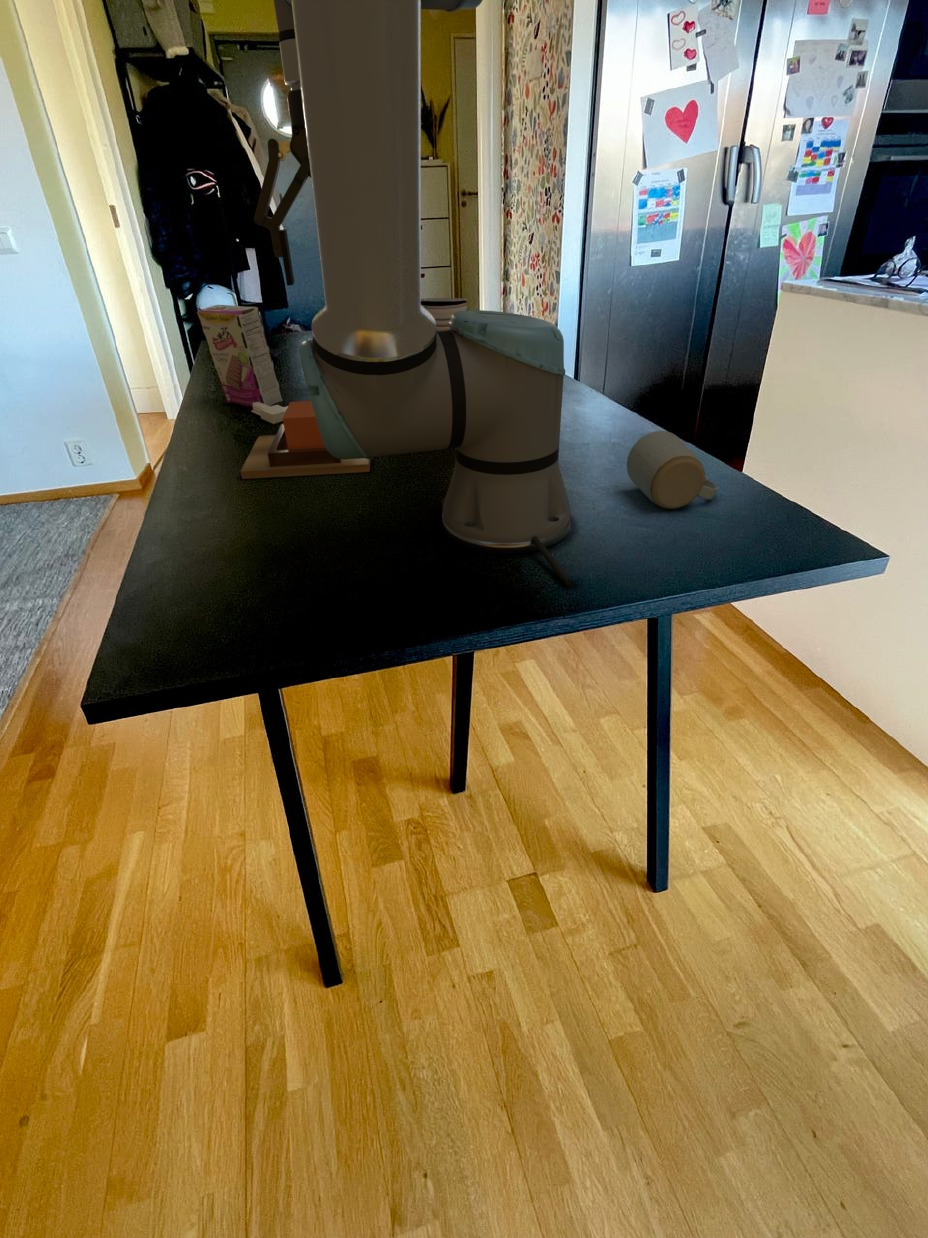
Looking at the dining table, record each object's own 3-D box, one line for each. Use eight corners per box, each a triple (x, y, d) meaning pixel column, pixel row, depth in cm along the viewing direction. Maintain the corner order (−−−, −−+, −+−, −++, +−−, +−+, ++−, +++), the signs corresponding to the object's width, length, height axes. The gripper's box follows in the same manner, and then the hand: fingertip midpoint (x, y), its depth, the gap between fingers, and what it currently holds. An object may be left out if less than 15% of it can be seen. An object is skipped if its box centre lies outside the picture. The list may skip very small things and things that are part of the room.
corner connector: (284, 402, 123) (283, 393, 123) (310, 413, 119) (310, 404, 118) (246, 411, 118) (245, 402, 118) (273, 423, 114) (272, 414, 113)
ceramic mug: (647, 515, 80) (657, 454, 76) (622, 489, 87) (629, 431, 83) (728, 508, 82) (742, 447, 78) (697, 482, 89) (708, 425, 84)
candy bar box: (225, 404, 125) (194, 310, 115) (245, 395, 128) (217, 303, 118) (264, 410, 119) (236, 312, 109) (284, 401, 122) (258, 305, 113)
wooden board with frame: (369, 472, 95) (367, 450, 93) (242, 479, 94) (237, 457, 92) (372, 437, 107) (370, 417, 105) (260, 443, 106) (256, 423, 104)
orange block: (324, 457, 97) (318, 416, 93) (289, 459, 96) (282, 418, 93) (329, 438, 103) (323, 399, 100) (296, 440, 103) (289, 401, 100)
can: (410, 355, 153) (406, 298, 147) (439, 345, 161) (437, 291, 154) (450, 361, 148) (448, 302, 141) (478, 350, 155) (477, 294, 149)
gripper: (417, 89, 85) (426, 274, 97) (218, 94, 83) (253, 282, 95) (420, 83, 79) (430, 281, 91) (206, 87, 77) (245, 289, 89)
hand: (339, 282), depth 93 cm, fingers open, 13 cm apart
